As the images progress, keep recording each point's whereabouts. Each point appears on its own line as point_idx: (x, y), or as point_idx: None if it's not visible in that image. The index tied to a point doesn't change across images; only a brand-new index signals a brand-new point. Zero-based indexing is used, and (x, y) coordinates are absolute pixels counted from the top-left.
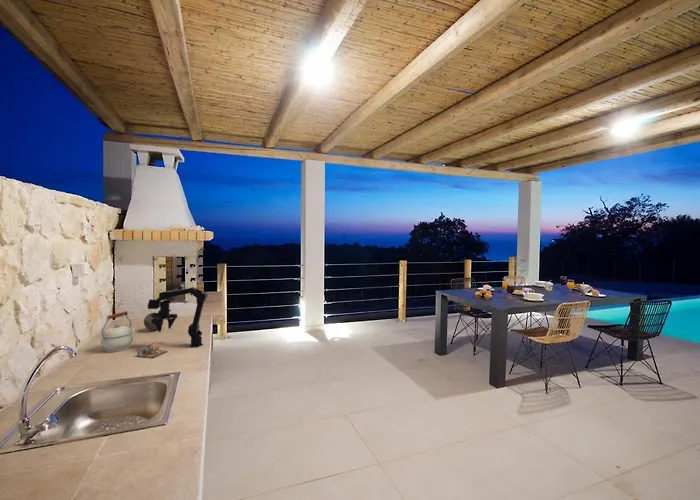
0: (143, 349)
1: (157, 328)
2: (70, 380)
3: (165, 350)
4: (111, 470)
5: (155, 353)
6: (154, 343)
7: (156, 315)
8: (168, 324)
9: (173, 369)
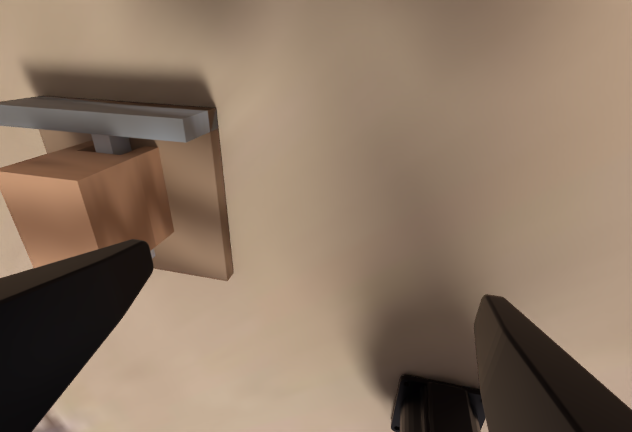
0: (49, 120)
1: (13, 281)
2: None
3: (221, 263)
4: None
5: None
6: (75, 244)
7: None
8: (544, 399)
9: (69, 408)
